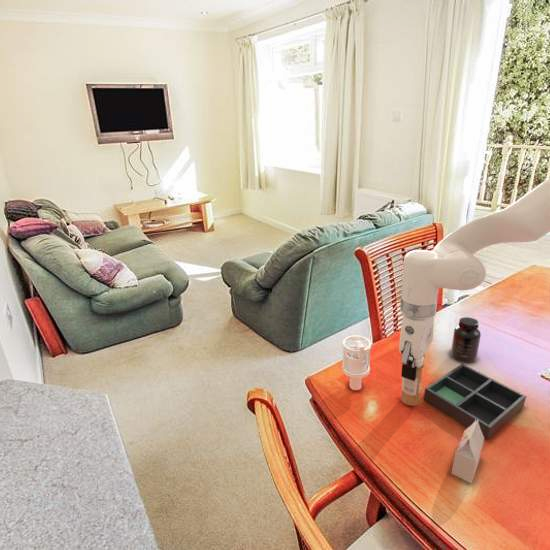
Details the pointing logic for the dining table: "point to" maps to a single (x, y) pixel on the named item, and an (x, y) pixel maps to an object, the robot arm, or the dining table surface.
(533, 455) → the dining table surface
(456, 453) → the white gable-top carton
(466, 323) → the supplement bottle
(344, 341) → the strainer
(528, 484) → the dining table surface
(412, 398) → the sprinkles bottle
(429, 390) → the rack
